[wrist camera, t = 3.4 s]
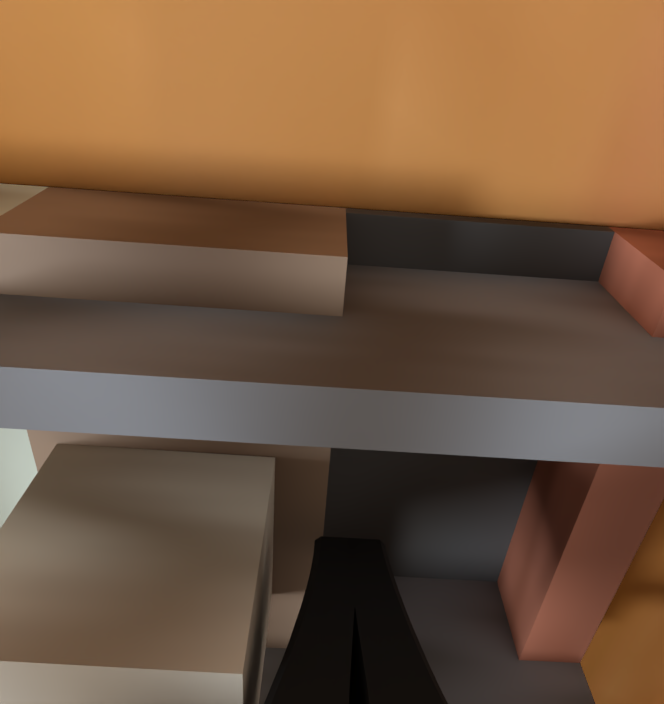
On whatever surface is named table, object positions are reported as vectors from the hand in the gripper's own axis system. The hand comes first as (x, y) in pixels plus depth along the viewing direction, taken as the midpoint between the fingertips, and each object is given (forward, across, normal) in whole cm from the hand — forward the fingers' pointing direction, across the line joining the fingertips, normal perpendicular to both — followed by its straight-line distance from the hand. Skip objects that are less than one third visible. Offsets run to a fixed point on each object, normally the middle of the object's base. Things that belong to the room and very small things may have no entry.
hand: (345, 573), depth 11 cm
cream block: (+1, +4, 0) cm, 4 cm away
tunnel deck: (+3, +3, 0) cm, 4 cm away
